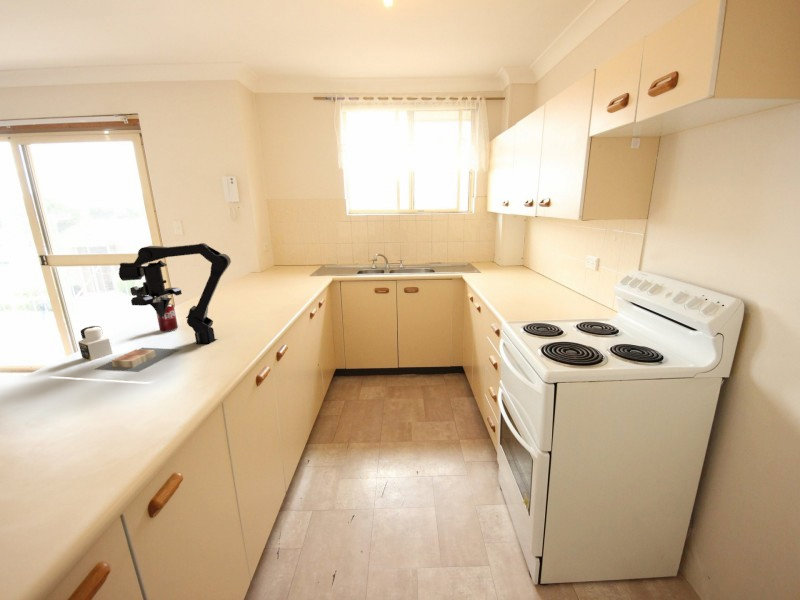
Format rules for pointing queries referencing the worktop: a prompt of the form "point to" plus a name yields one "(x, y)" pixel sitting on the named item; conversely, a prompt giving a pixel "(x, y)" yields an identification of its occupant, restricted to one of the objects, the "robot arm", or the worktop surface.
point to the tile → (133, 358)
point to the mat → (159, 356)
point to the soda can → (168, 319)
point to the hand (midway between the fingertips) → (161, 316)
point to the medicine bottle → (94, 343)
